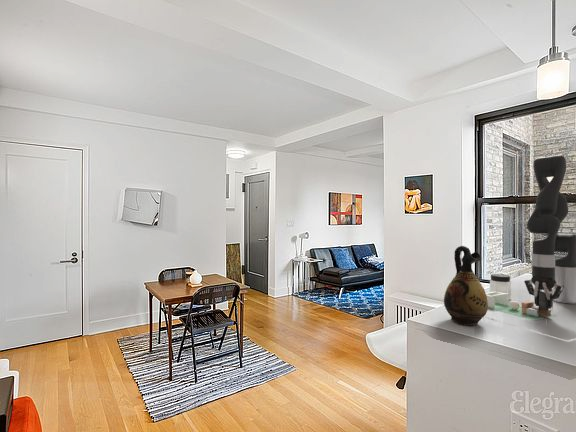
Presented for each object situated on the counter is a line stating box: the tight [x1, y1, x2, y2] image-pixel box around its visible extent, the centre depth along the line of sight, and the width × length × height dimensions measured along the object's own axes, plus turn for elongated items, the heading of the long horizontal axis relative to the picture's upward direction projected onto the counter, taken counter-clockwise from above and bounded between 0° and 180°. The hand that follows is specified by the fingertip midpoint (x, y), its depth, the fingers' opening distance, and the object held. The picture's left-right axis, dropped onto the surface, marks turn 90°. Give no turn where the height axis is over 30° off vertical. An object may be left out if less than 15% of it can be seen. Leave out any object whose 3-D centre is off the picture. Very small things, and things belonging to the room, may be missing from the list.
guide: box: [527, 305, 544, 318], centre depth 135 cm, size 7×4×3 cm, turn 114°
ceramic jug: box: [443, 245, 489, 327], centre depth 129 cm, size 17×15×30 cm
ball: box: [509, 300, 521, 310], centre depth 143 cm, size 4×4×4 cm
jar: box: [489, 273, 512, 301], centre depth 164 cm, size 9×8×12 cm
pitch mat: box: [488, 303, 558, 322], centre depth 143 cm, size 16×25×1 cm, turn 24°
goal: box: [485, 291, 510, 308], centre depth 151 cm, size 11×6×6 cm, turn 114°
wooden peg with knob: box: [521, 290, 552, 318], centre depth 135 cm, size 5×9×10 cm, turn 24°
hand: (543, 307), depth 133 cm, fingers closed on wooden peg with knob, 3 cm apart
